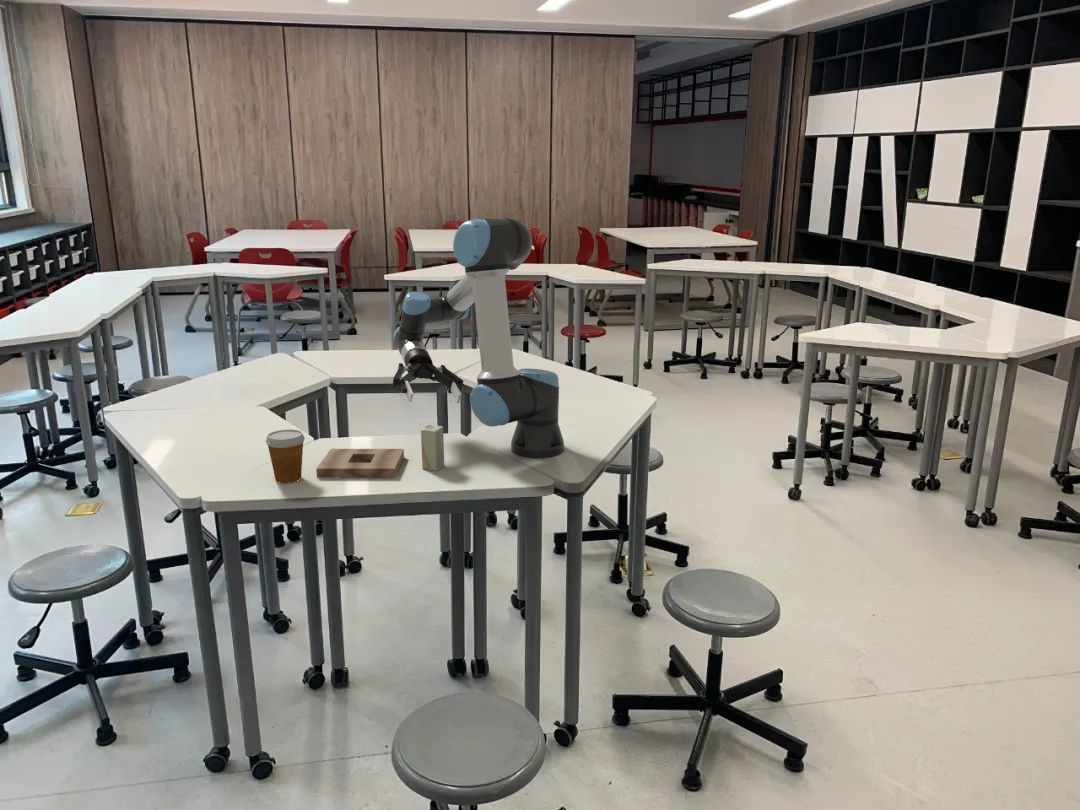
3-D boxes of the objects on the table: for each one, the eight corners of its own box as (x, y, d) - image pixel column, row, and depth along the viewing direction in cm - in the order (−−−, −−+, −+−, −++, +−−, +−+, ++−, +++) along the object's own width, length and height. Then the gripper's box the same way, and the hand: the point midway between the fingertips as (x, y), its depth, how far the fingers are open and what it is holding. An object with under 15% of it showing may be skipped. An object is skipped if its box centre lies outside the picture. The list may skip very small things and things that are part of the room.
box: (430, 463, 220) (429, 424, 217) (445, 465, 219) (444, 425, 216) (421, 469, 215) (420, 429, 212) (436, 471, 214) (435, 431, 211)
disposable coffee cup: (268, 474, 211) (265, 430, 207) (307, 471, 213) (303, 427, 210) (268, 487, 202) (264, 441, 199) (308, 483, 205) (305, 438, 202)
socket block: (404, 457, 224) (403, 448, 224) (394, 477, 209) (394, 468, 208) (331, 457, 224) (330, 448, 224) (316, 477, 209) (316, 468, 208)
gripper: (454, 371, 244) (475, 410, 228) (372, 368, 233) (388, 409, 217) (459, 349, 240) (481, 387, 224) (376, 345, 230) (392, 385, 214)
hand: (435, 398), depth 221 cm, fingers open, 13 cm apart
